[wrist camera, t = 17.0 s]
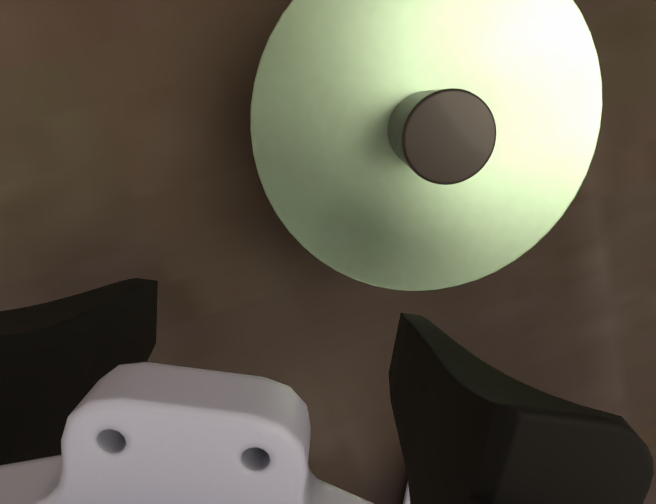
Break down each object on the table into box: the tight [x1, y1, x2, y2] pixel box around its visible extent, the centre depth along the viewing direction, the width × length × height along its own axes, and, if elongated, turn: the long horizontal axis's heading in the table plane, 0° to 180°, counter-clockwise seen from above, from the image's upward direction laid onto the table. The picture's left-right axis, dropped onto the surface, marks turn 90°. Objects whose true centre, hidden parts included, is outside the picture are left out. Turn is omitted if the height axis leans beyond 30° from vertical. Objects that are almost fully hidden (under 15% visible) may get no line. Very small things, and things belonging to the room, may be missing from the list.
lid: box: [250, 0, 603, 291], centre depth 14 cm, size 11×11×5 cm
